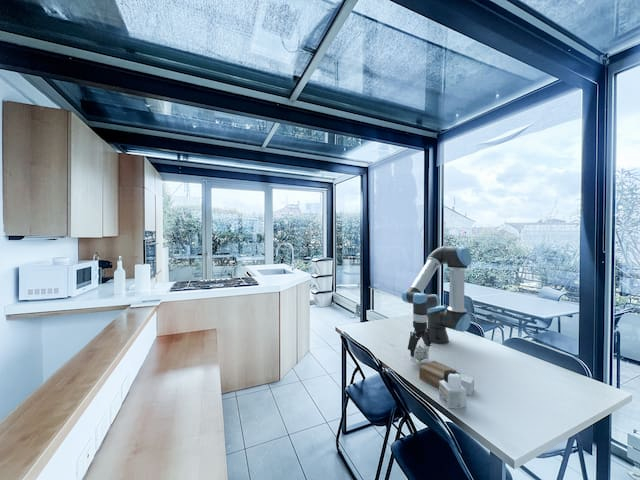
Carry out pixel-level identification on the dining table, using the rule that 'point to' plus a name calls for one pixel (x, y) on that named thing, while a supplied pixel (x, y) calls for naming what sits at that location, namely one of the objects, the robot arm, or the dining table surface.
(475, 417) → the dining table surface
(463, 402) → the container
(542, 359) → the dining table surface
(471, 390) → the grey block
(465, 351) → the dining table surface
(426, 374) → the base block
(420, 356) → the grey spiky ball
